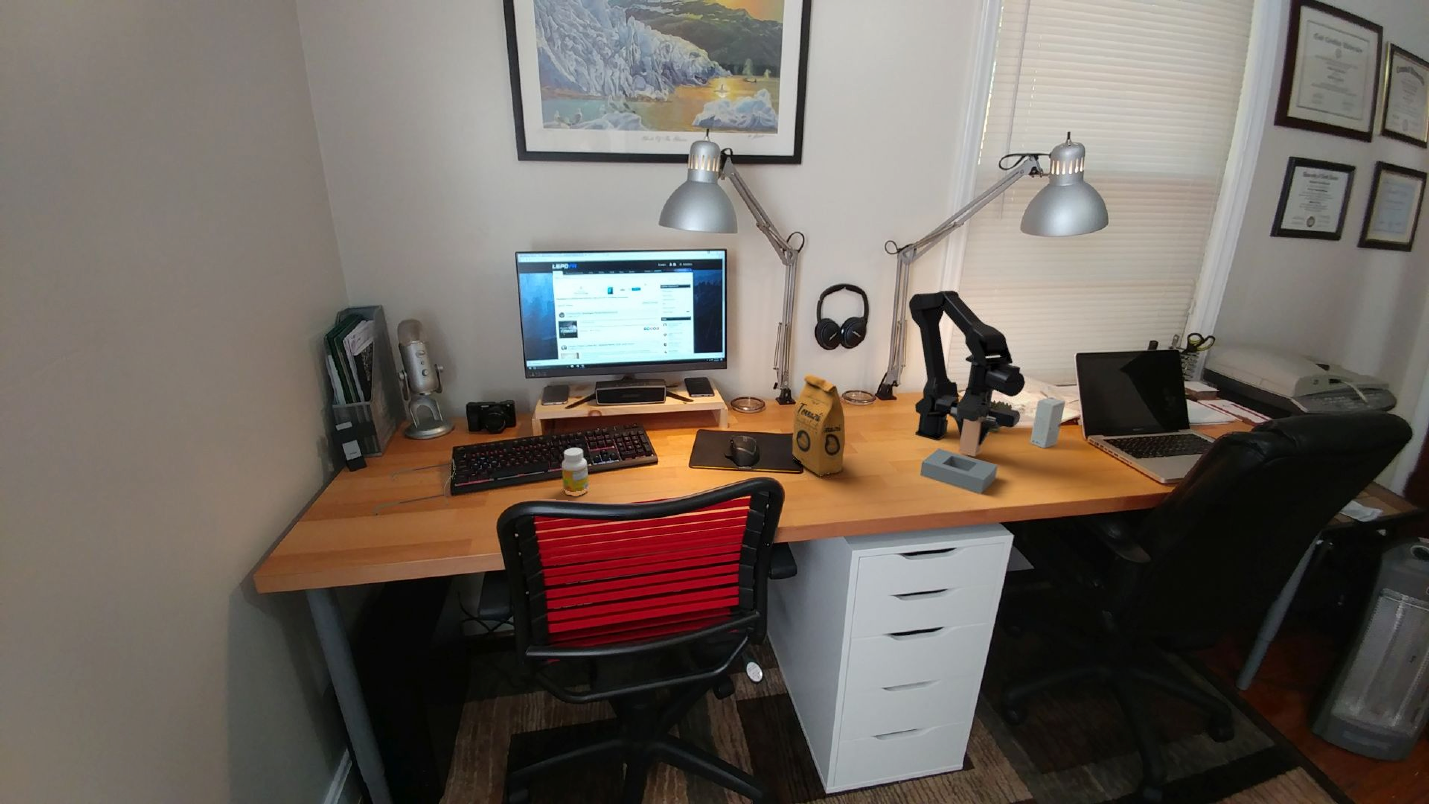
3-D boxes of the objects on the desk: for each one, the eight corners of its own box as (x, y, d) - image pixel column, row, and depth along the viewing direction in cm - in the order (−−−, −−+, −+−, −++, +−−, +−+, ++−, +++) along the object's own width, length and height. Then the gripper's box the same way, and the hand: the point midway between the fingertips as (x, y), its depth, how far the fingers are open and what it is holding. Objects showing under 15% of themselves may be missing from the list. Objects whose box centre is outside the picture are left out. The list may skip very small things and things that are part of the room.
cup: (984, 423, 173) (989, 397, 170) (1011, 431, 168) (1016, 404, 165) (973, 430, 168) (978, 403, 165) (1000, 438, 163) (1005, 410, 160)
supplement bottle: (561, 488, 134) (557, 449, 130) (584, 483, 136) (581, 444, 133) (568, 499, 129) (564, 458, 126) (592, 493, 132) (589, 453, 128)
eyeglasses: (453, 507, 127) (450, 486, 125) (375, 517, 123) (370, 495, 121) (461, 474, 141) (458, 455, 139) (391, 482, 137) (387, 462, 135)
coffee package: (813, 480, 139) (820, 390, 131) (786, 458, 149) (791, 374, 142) (849, 472, 142) (857, 385, 135) (820, 452, 153) (826, 370, 146)
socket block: (920, 474, 142) (922, 461, 140) (936, 461, 149) (938, 448, 148) (981, 494, 133) (983, 480, 132) (995, 478, 140) (997, 465, 139)
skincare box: (1045, 449, 156) (1054, 405, 152) (1028, 443, 160) (1037, 400, 156) (1057, 444, 160) (1067, 401, 155) (1041, 438, 163) (1050, 396, 159)
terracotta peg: (958, 451, 151) (964, 418, 148) (964, 447, 153) (969, 414, 150) (974, 456, 148) (980, 422, 145) (980, 451, 151) (986, 418, 148)
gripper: (930, 382, 145) (921, 442, 150) (1011, 400, 133) (999, 463, 138) (947, 372, 153) (939, 429, 158) (1026, 388, 141) (1014, 449, 146)
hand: (970, 442), depth 150 cm, fingers closed on terracotta peg, 4 cm apart
